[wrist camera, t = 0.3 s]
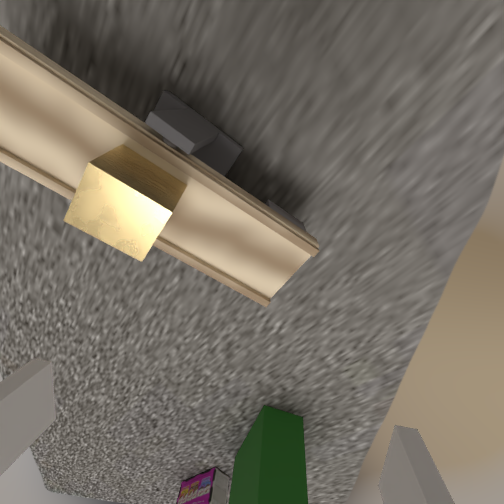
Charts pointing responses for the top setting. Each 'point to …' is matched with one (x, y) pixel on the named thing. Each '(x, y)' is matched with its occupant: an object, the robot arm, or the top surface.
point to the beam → (158, 152)
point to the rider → (124, 200)
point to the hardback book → (271, 461)
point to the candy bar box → (205, 488)
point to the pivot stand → (193, 133)
